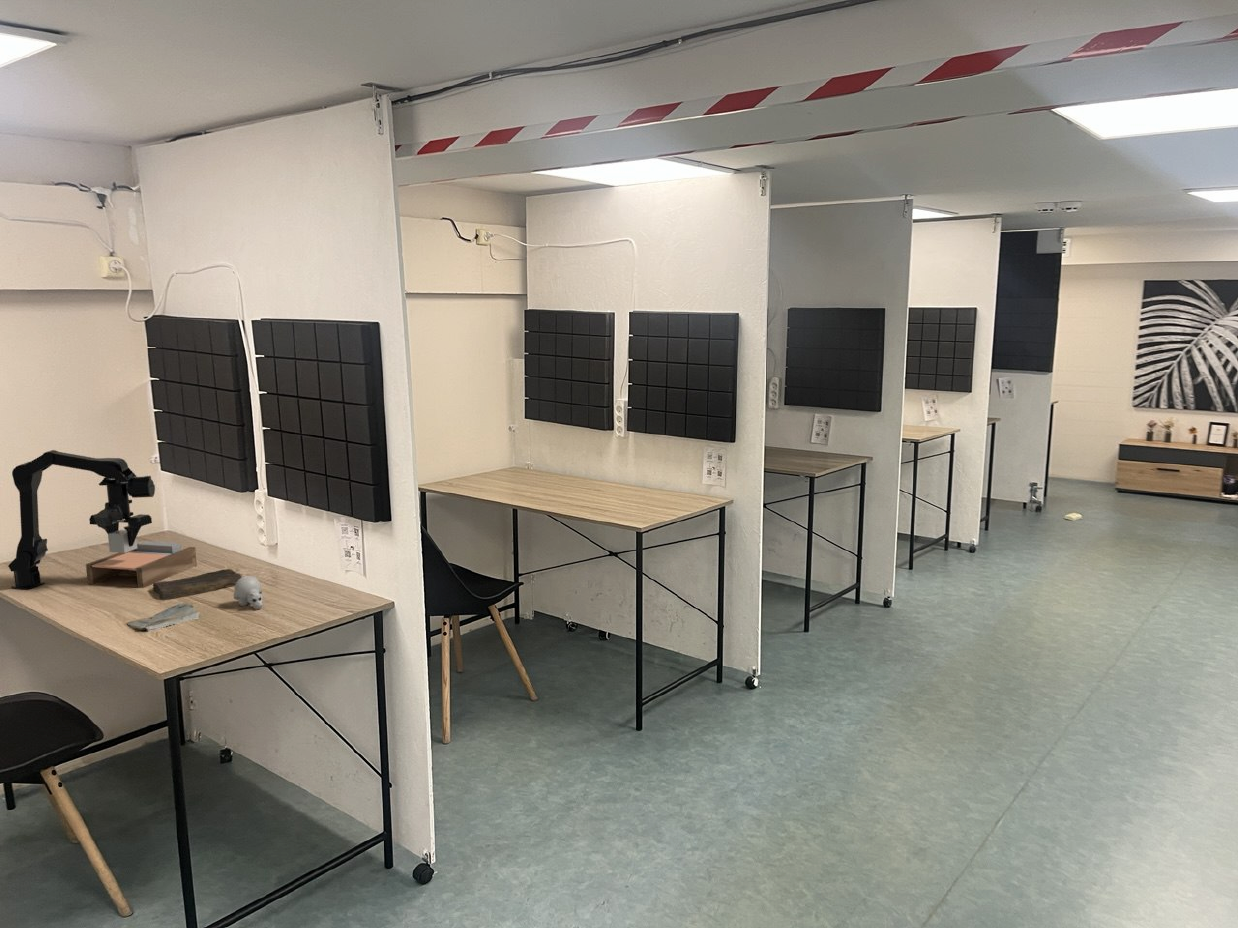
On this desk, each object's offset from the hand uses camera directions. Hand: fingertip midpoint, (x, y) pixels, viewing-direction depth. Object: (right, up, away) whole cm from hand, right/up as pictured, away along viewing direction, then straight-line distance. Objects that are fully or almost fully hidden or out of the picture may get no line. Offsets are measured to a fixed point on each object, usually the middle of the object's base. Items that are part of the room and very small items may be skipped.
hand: (123, 545), depth 276 cm
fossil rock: (+30, -19, -32) cm, 48 cm away
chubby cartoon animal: (+50, -16, -21) cm, 57 cm away
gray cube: (0, -2, 0) cm, 2 cm away
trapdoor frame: (+2, -10, +9) cm, 14 cm away
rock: (+26, -14, -3) cm, 30 cm away
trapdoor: (+1, -7, +7) cm, 10 cm away
